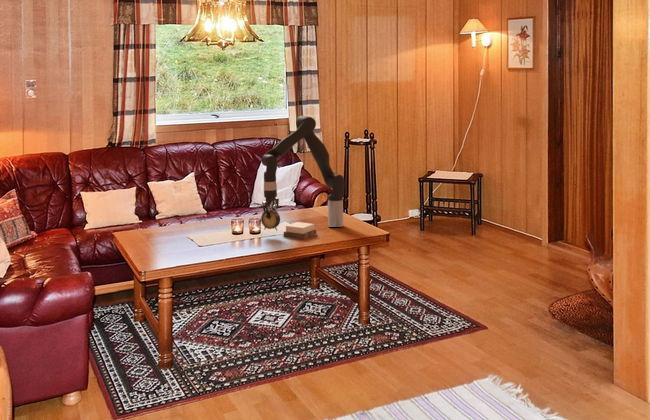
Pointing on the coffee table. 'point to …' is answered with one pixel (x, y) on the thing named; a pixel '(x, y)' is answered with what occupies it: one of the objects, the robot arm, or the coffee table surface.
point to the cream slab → (300, 227)
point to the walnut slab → (298, 235)
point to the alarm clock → (271, 220)
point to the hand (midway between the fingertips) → (271, 217)
